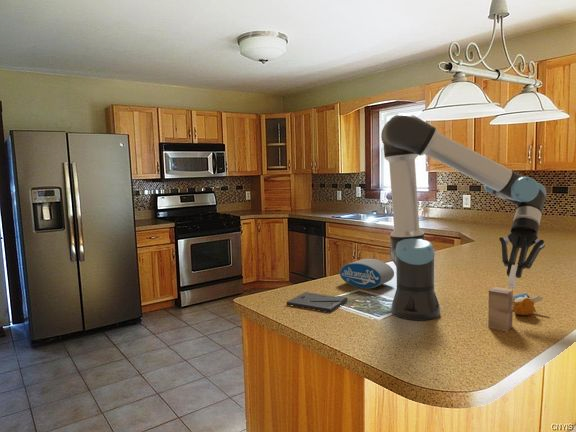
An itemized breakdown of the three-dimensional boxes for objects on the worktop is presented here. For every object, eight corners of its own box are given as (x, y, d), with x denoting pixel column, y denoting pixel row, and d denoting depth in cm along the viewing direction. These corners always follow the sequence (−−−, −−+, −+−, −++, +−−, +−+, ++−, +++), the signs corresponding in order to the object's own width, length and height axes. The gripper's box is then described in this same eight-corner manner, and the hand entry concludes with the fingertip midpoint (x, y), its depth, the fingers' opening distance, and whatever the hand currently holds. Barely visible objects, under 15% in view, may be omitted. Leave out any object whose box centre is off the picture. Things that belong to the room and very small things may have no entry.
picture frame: (347, 303, 149) (305, 296, 159) (347, 297, 149) (305, 291, 158) (330, 314, 138) (286, 307, 148) (330, 308, 138) (286, 300, 147)
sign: (394, 285, 166) (393, 261, 165) (381, 291, 159) (381, 266, 158) (353, 278, 179) (352, 256, 178) (339, 284, 172) (339, 260, 171)
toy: (537, 285, 136) (540, 293, 123) (545, 303, 135) (549, 313, 122) (499, 295, 141) (498, 304, 128) (506, 312, 140) (506, 323, 127)
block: (494, 322, 123) (494, 286, 122) (512, 326, 120) (513, 289, 119) (488, 327, 120) (488, 290, 118) (507, 331, 116) (507, 293, 115)
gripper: (551, 231, 132) (538, 295, 121) (506, 229, 141) (491, 288, 130) (547, 216, 127) (533, 282, 117) (501, 215, 136) (485, 276, 126)
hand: (511, 285), depth 124 cm, fingers closed
